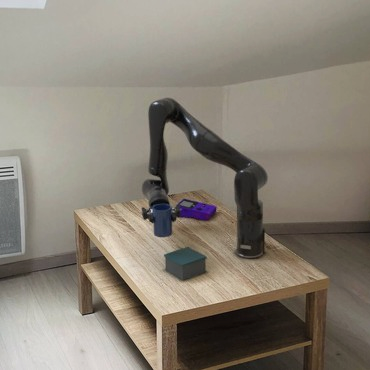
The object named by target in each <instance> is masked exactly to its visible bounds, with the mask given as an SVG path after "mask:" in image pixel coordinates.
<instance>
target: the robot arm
mask: <svg viewBox="0 0 370 370" xmlns="http://www.w3.org/2000/svg"><path fill="white" fill-rule="evenodd" d="M147 111H148V112H147V118H148V119H147V120H148V134H149V155H148V156H149V158H148V167H147V169H148V173H149V175H151V176H153V177H157V178H158V179H157V178H147V179H145V180H143V182H142V183H141V192H142V195H143V196H144V198H146V200H147V202H148V207H149V208H146V207H144V206H143V207H141V216H142V219H143V220H144V221H145V220H148V221H149V223H150V224H153V223H154V221H153V210H152V207H153V206H154V205H157V204H169V205H171V203H170V200H169V197H168V195H169V192H170V187H169V182H168V176H167V168H168V157H169V155H168V148H167V145H166V142H165V136H164V135H165V134H164V133H165V129H166V124H168V123H171V124H172V125H174V126H176V127H177V128H178V129H179V130H181V131H182V132H183V134H184V135H185V137H186V139H187V142H188V143H189V145H190V146H191V148H192V149H193V150H194V151H195V152H197V154H199V155H201V156H202V157H203V158H205V159H207V160H208V161H211V162H213V163H216V164H218V165H221V166H224V167H227V168H229V169H231V170H232V171H234V172H235V174H234V178H233V179H234V180H233V189H234V190H233V191H234V192H233V193H234V195H233V196H234V202H235V205H236V254H237V256H238V257H241V258H245V259H255V258H256V259H257V258H258V257H259V258H260V257H261V256H262V255H263V253H264V254H265V240H266V237H265V235H266V229H265V227H264V203H263V201H262V200H261V199H259V190H260V189H261V188H263V187H264V186H266V185H267V183H268V179H269V176H268V173H267V171H266V169H265V168H264V167H263V166H261V164H259V163H258V162H256V161H254V160H253V159H251V158H250V157H248V156H246V155H244V154H243V153H242V152H240V151H239V150H238V149H236V148H235V147H234V146H232V145H231V144H229V143H228V142H227V141H225V140H224V139H223V138H222V137H221V136H219V135H218V134H217V133H215V131H213V130H211V129H210V128H209V127H207V126H206V125H205V124H203V123H202V122H200V120H198V119H197V118H195V117H194V116H193V115H192V114H190V113H189V112H188V111H187V109H186V108H184V107H183V106H182V105H181V104H180V103H179V102H178V101H177V100H175V99H174V98H172V97H162V98H159V99H156V100H154V101H152V102H151V103H150V104H149V106H148V110H147ZM171 207H172V223H175V222H176V221H177V218H181V216H180V206H179V205H177V204H176V205H175V206H174V207H173V206H172V205H171Z"/></svg>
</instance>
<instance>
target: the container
mask: <svg viewBox="0 0 370 370" xmlns="http://www.w3.org/2000/svg"><path fill="white" fill-rule="evenodd" d="M163 257H164V263H165V271H166V272H168V273H170V274H171V275H173V276H174V277H176V278H177V279H180V280H181V281H185V280H188V279H190V278H194V277H196V276H199V275H201V274H204V273H206V271H207V270H206V268H207V266H206V261H207V259H208V257H207V255H204V254H203V253H201V252H199V251H197V250H195V249H194V248H192V247H189V246H186V247H182V248H179V249H176V250H173V251H170V252H167V253H165V254H164V253H163Z"/></svg>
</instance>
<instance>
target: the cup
mask: <svg viewBox="0 0 370 370" xmlns="http://www.w3.org/2000/svg"><path fill="white" fill-rule="evenodd" d="M171 206H172V205H171V204H170V205H169V204H157V205H154V206H153V207H152V210H153V221H154V223H152V231H153V235H154V236H155V237H157V238H168V237H171V236H172V235H173V222H172V207H173V206H172V207H171Z"/></svg>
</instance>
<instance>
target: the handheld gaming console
mask: <svg viewBox="0 0 370 370" xmlns="http://www.w3.org/2000/svg"><path fill="white" fill-rule="evenodd" d="M176 205H179V206H180V217H184V218H194V219H197V220H200V221H209V220H210V219H211V218H212V217H213V215H214V214H216V212H217V208H218V206H217V205H213V204H209V203H205V202H200V201H196V200H193V199H188V198H182V199H181V200H180V201H179V202H178V203H177V204H176Z"/></svg>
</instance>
